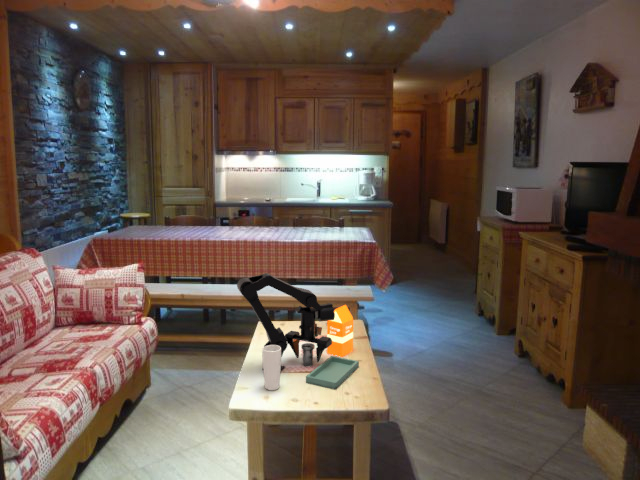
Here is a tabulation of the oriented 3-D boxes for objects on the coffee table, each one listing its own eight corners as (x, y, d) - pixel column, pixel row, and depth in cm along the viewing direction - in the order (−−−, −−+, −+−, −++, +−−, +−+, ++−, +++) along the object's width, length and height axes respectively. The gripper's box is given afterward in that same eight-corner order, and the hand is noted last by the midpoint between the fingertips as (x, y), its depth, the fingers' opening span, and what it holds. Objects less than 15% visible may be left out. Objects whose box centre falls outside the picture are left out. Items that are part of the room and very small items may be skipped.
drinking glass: (260, 385, 187) (260, 345, 184) (278, 382, 189) (278, 343, 187) (265, 393, 180) (264, 352, 178) (283, 390, 183) (283, 350, 180)
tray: (335, 389, 184) (335, 382, 183) (305, 382, 189) (305, 376, 188) (358, 367, 203) (358, 361, 203) (331, 361, 208) (331, 355, 208)
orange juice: (353, 350, 220) (353, 305, 217) (342, 357, 213) (342, 311, 209) (337, 346, 224) (338, 302, 221) (326, 353, 217) (327, 307, 214)
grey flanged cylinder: (310, 368, 202) (310, 348, 200) (299, 365, 204) (299, 346, 203) (316, 363, 206) (316, 344, 205) (305, 361, 209) (305, 342, 207)
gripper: (338, 320, 205) (337, 357, 208) (297, 313, 213) (297, 349, 216) (325, 328, 195) (325, 367, 198) (283, 321, 204) (283, 358, 206)
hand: (307, 359), depth 205 cm, fingers open, 9 cm apart
